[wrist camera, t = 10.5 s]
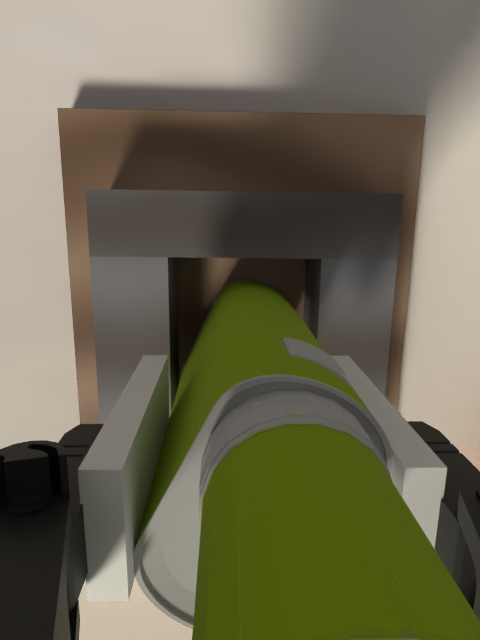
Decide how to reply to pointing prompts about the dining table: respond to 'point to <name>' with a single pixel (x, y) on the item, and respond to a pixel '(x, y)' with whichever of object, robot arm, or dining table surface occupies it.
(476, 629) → the vape
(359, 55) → the dining table surface
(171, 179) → the charging dock
